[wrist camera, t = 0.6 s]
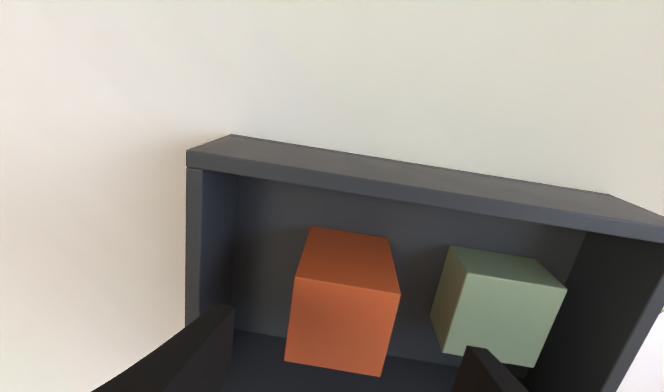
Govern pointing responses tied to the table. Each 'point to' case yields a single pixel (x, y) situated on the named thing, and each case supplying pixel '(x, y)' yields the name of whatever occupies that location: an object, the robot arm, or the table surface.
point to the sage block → (495, 305)
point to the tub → (411, 261)
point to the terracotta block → (343, 302)
